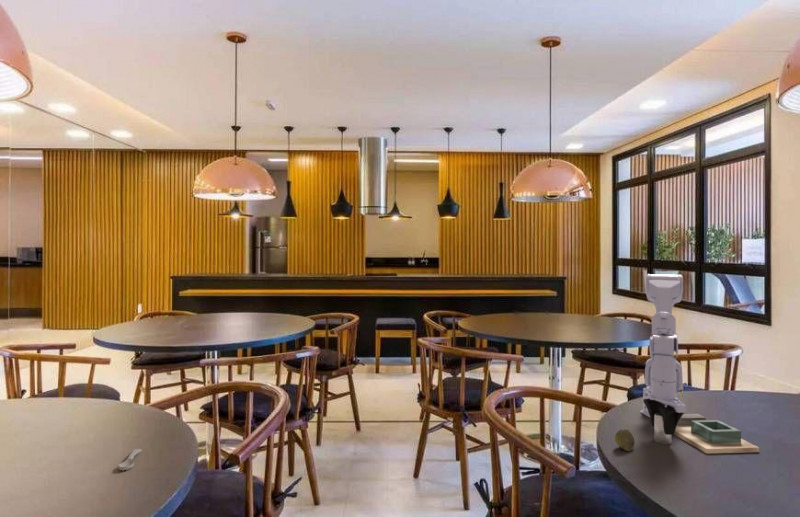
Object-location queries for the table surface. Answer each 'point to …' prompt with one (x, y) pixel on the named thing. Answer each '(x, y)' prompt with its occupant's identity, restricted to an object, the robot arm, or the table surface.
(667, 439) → the bushing
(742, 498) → the table surface
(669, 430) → the robot arm
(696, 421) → the jig
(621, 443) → the lime
